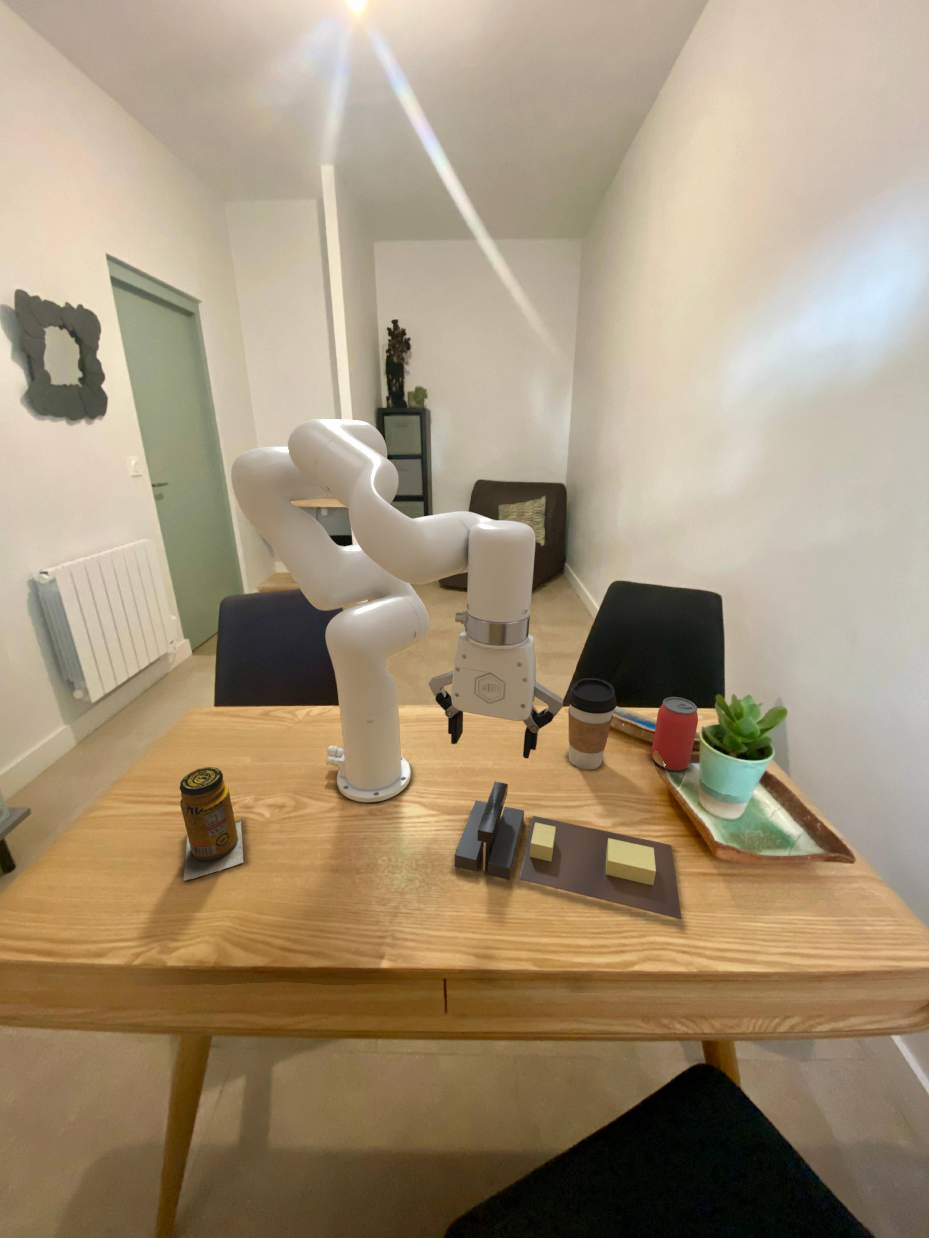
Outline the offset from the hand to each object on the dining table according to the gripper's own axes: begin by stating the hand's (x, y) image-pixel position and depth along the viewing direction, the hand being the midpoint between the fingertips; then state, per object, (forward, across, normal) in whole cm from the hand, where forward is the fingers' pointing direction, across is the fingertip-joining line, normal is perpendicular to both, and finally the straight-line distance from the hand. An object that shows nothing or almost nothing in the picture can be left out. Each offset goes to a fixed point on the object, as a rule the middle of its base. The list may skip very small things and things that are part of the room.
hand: (491, 745), depth 64 cm
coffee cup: (+18, +13, +25) cm, 33 cm away
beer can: (+17, +28, +29) cm, 43 cm away
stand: (+17, +1, 0) cm, 17 cm away
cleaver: (+17, +1, 0) cm, 17 cm away
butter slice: (+16, +8, +1) cm, 18 cm away
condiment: (+18, -37, -12) cm, 43 cm away
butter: (+16, +20, +1) cm, 25 cm away
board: (+17, +16, +1) cm, 23 cm away
